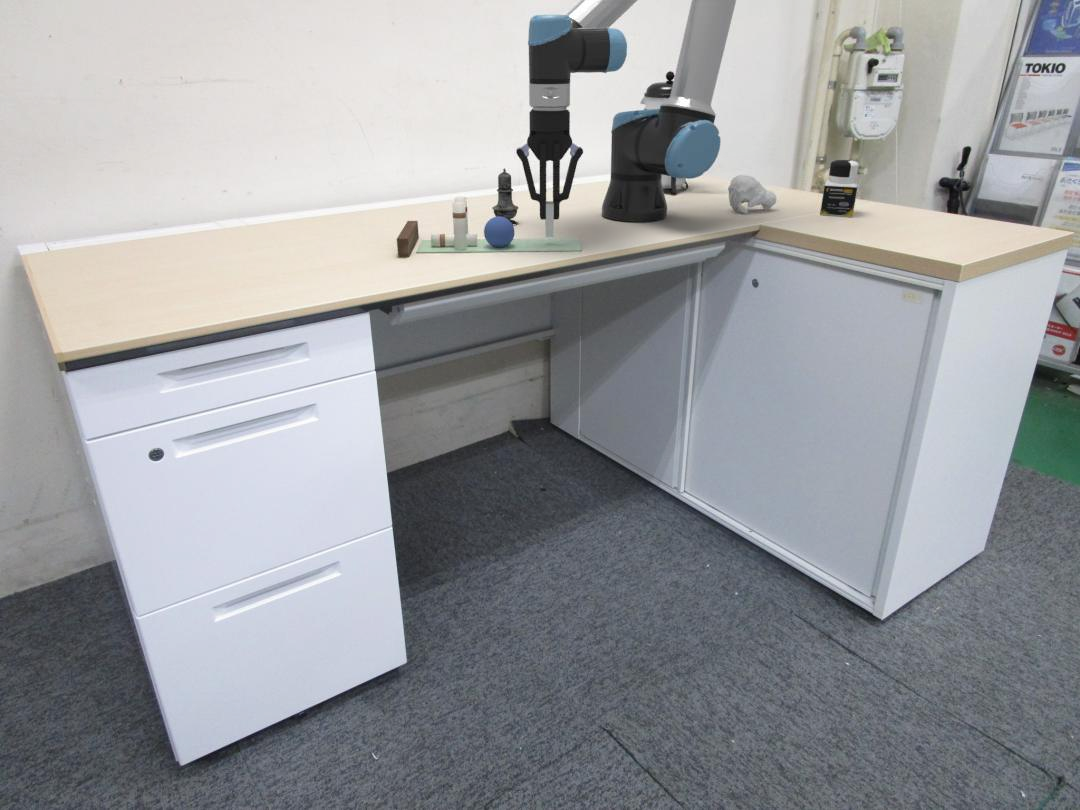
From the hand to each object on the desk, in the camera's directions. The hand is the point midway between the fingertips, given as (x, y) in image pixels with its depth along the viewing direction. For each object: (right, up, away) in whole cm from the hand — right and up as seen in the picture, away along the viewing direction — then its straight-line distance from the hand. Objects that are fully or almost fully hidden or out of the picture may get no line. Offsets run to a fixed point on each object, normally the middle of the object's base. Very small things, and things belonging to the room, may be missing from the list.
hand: (549, 235), depth 148 cm
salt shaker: (-10, +7, +20) cm, 23 cm away
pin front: (-14, -1, 0) cm, 14 cm away
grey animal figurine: (+49, +13, +31) cm, 59 cm away
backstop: (-28, -2, 0) cm, 28 cm away
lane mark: (-10, -2, +1) cm, 10 cm away
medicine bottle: (+68, +11, +28) cm, 74 cm away
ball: (-10, 0, -2) cm, 10 cm away
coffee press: (+33, +25, +57) cm, 70 cm away
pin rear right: (-18, -1, +3) cm, 18 cm away
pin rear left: (-17, -3, -2) cm, 18 cm away
